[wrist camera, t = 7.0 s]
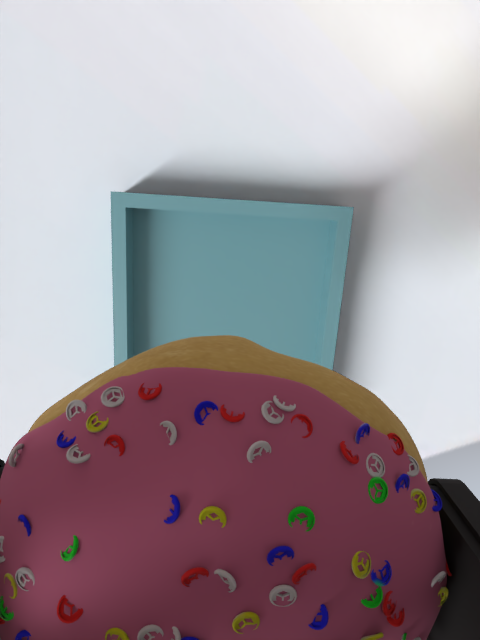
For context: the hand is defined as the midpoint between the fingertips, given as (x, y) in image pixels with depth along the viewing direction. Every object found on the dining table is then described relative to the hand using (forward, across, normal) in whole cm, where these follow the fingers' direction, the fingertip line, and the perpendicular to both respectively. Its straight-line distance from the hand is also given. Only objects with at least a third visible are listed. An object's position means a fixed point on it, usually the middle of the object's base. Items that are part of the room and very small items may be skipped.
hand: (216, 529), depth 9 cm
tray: (+19, 0, 0) cm, 19 cm away
